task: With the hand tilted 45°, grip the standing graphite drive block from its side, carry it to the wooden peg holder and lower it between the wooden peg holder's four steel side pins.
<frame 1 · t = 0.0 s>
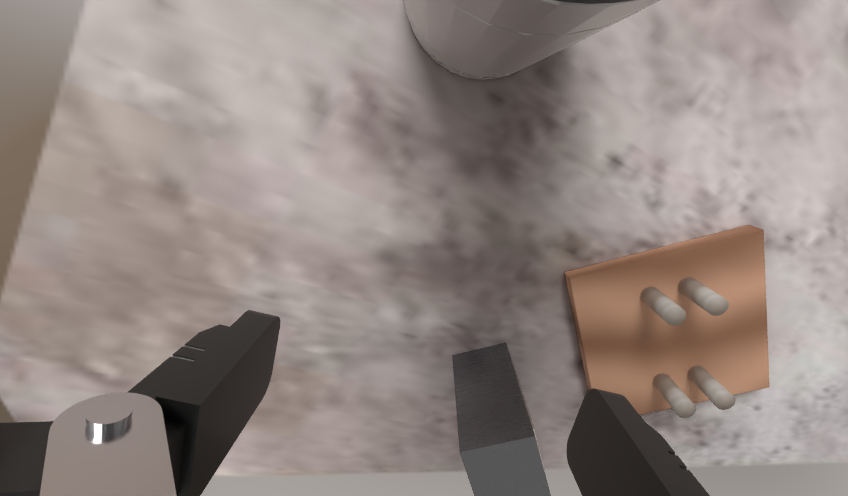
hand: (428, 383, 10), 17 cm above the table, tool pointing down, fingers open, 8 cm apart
drive: (486, 374, 30), on the table
wooden peg holder: (664, 326, 29), on the table
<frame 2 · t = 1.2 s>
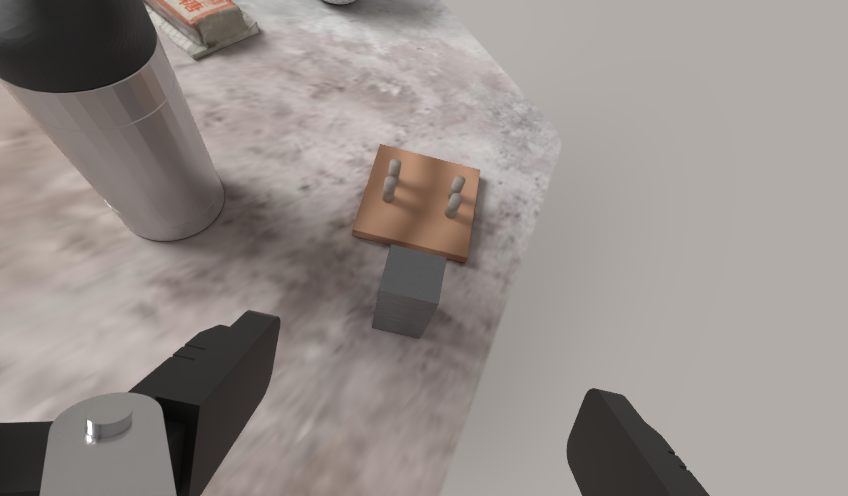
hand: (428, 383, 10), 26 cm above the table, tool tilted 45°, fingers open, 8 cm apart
packaged product: (188, 14, 55), on the table
drive: (400, 313, 39), on the table
wooden peg holder: (419, 203, 45), on the table
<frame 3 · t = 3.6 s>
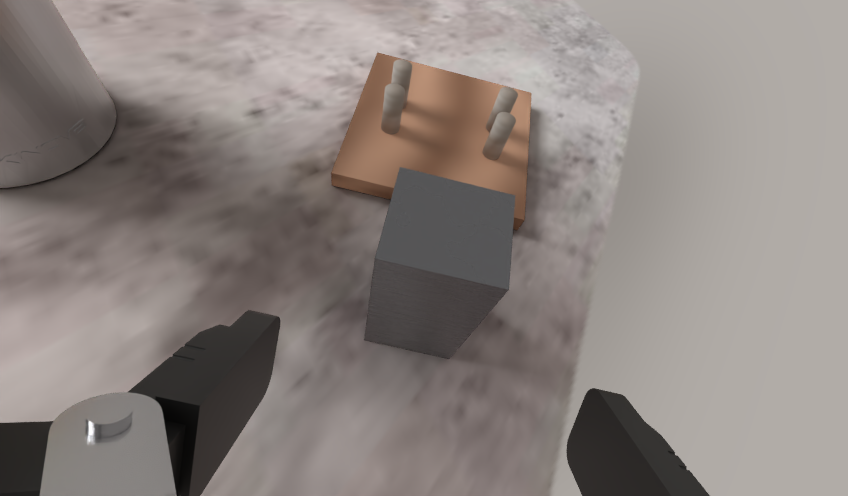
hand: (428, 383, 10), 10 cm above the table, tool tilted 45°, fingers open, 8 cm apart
drive: (414, 313, 22), on the table
wooden peg holder: (440, 140, 29), on the table
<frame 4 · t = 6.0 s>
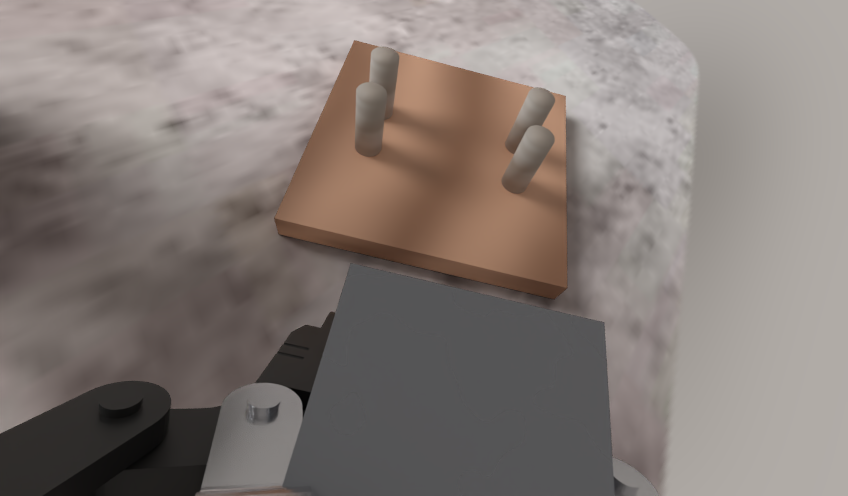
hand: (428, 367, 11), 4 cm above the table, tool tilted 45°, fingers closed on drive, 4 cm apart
drive: (398, 452, 14), on the table, touching gripper
wooden peg holder: (440, 163, 20), on the table
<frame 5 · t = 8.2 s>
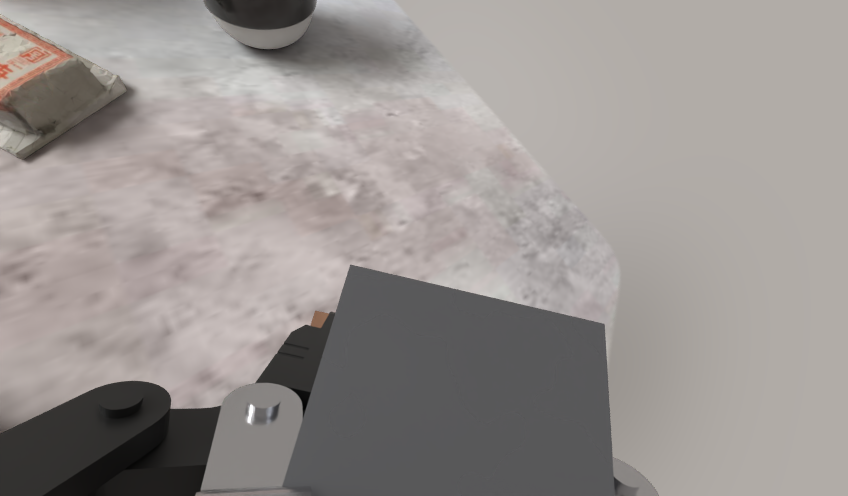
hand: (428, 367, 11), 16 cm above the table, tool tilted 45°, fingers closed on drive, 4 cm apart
pump dispenser: (267, 33, 42), on the table
packaged product: (0, 82, 34), on the table
drive: (398, 453, 14), point 12 cm above the table, touching gripper
when the fingers open (7 cm above the table, at t = 10.5 s): drive drops 1 cm, resting on wooden peg holder.
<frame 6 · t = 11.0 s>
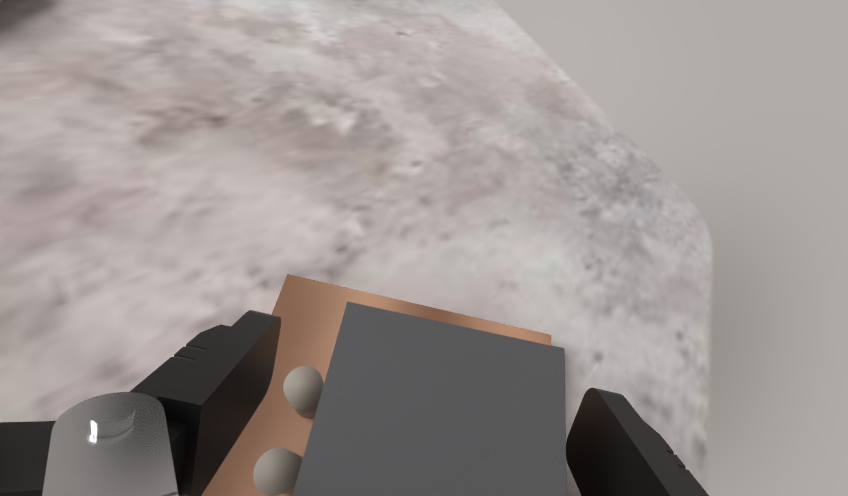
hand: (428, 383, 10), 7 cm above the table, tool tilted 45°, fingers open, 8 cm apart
drive: (393, 456, 15), point 1 cm above the table, touching wooden peg holder
wooden peg holder: (390, 456, 16), on the table
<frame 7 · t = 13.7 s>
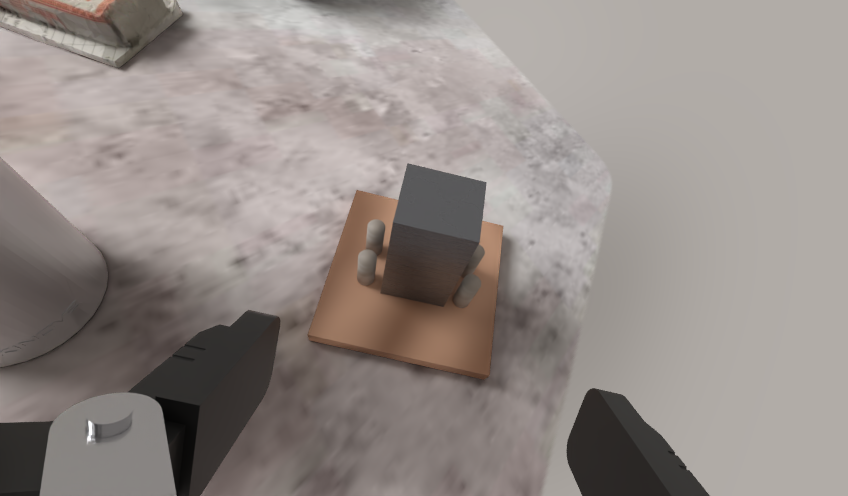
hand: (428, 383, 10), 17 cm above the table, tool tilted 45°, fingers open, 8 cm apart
packaged product: (70, 15, 39), on the table
drive: (416, 274, 29), point 1 cm above the table, touching wooden peg holder
wooden peg holder: (414, 281, 30), on the table
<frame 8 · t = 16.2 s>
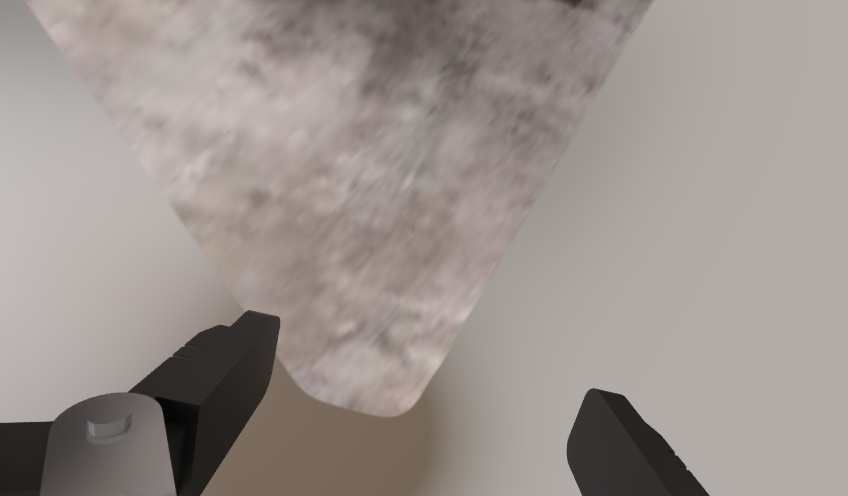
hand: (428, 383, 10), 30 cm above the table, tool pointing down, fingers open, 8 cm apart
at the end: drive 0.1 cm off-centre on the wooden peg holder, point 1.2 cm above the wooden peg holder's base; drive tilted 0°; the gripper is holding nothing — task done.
